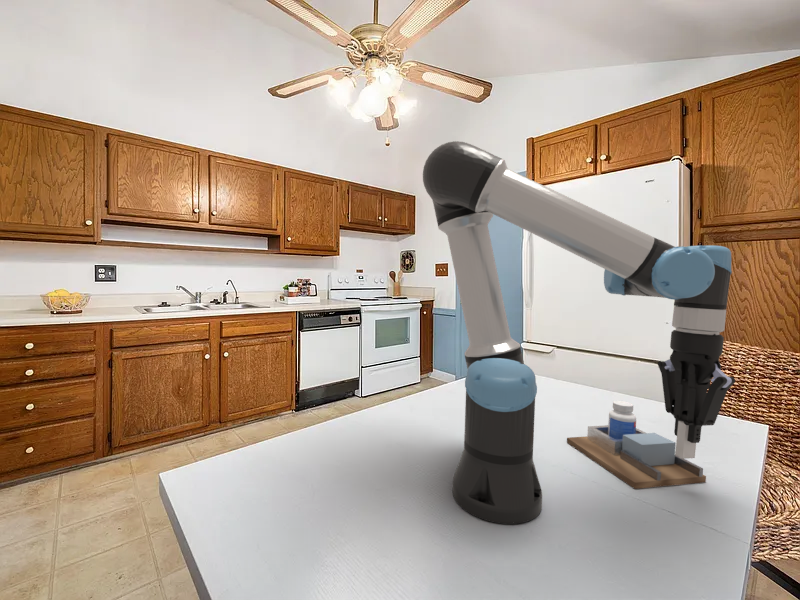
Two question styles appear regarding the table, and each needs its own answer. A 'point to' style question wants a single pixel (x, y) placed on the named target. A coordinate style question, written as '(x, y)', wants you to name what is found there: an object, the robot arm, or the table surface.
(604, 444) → the socket
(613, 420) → the pill bottle
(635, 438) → the block
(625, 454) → the rails
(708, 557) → the table surface
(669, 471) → the board
